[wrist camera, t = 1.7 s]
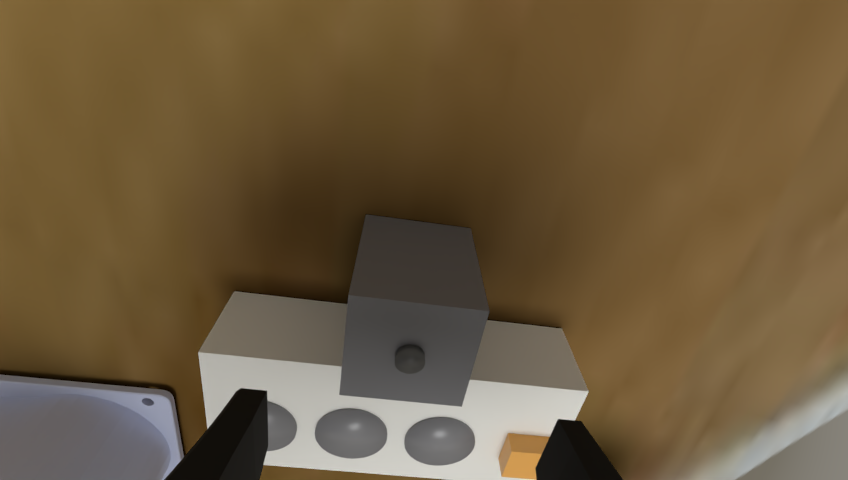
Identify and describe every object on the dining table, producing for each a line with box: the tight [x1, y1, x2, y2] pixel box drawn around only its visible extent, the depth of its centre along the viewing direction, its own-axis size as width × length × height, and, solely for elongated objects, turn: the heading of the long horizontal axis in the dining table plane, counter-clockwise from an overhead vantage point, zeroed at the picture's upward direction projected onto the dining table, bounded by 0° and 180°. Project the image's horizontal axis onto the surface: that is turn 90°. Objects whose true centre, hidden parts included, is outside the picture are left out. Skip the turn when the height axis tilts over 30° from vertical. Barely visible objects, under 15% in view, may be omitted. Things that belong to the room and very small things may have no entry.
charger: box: [339, 214, 490, 407], centre depth 16 cm, size 4×6×5 cm
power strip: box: [198, 291, 589, 480], centre depth 19 cm, size 14×6×4 cm, turn 81°
